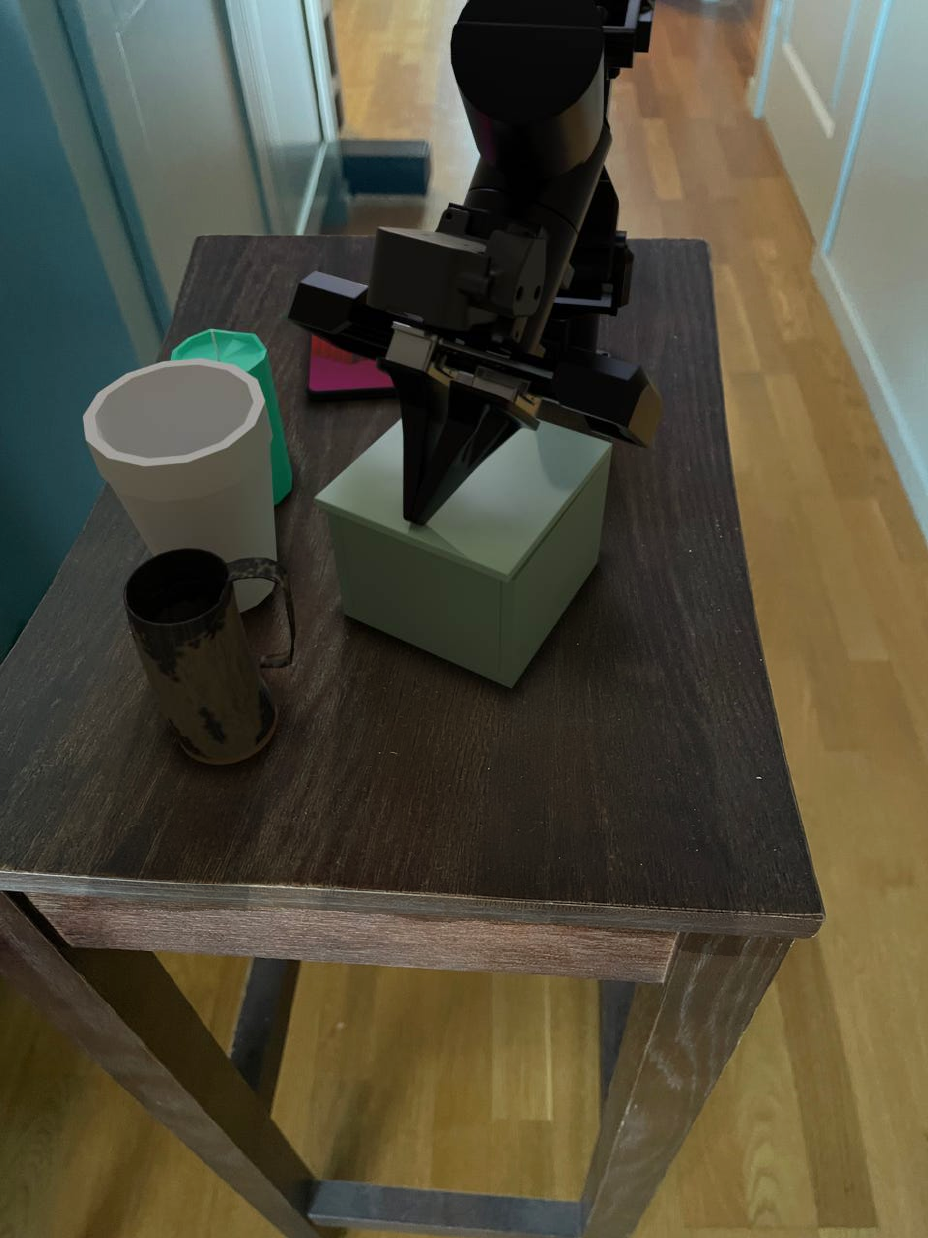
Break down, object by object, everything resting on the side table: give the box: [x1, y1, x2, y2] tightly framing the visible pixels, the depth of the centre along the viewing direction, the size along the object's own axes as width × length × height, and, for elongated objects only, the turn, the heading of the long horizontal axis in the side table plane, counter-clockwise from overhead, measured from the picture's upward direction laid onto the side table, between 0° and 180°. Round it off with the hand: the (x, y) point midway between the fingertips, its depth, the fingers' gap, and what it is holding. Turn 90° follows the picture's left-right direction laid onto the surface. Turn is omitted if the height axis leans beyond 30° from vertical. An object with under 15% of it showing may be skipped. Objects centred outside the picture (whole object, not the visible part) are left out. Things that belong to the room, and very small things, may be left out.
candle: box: [169, 328, 293, 506], centre depth 60 cm, size 6×6×12 cm
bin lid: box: [313, 417, 613, 583], centre depth 50 cm, size 12×12×1 cm
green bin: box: [325, 452, 612, 689], centre depth 54 cm, size 12×12×9 cm
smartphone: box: [305, 332, 397, 401], centre depth 75 cm, size 8×1×15 cm
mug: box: [122, 548, 297, 766], centre depth 46 cm, size 8×6×12 cm
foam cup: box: [82, 358, 278, 614], centre depth 53 cm, size 10×9×13 cm
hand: (413, 522), depth 46 cm, fingers closed, pressing on bin lid
